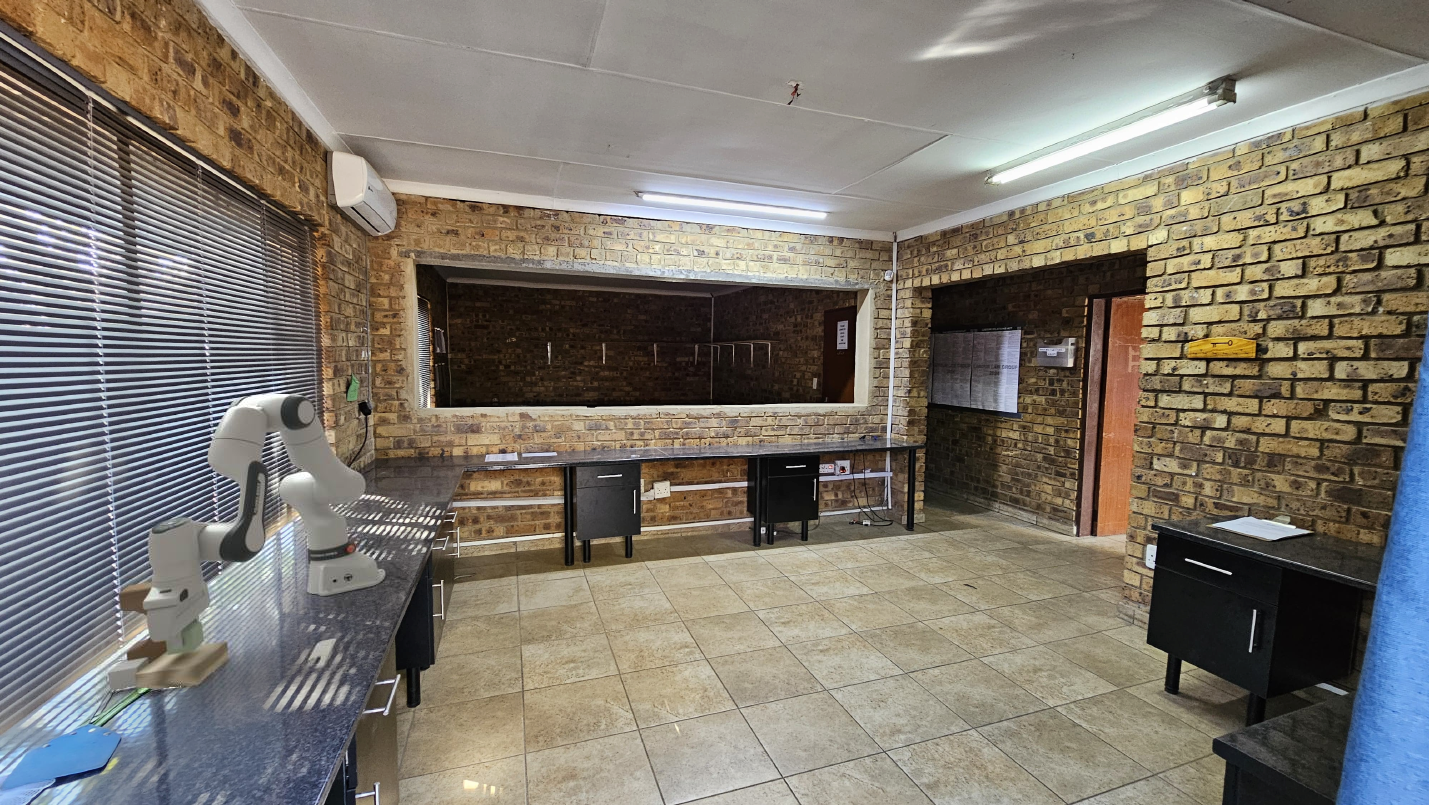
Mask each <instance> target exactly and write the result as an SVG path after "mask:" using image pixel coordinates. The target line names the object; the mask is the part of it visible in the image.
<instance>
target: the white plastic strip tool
mask: <svg viewBox="0 0 1429 805" xmlns="http://www.w3.org/2000/svg"><path fill="white" fill-rule="evenodd" d="M336 641H337V638H329V639H325V640H321V641H319V642H318V643H316V645H315V647H314V648H313V651H312V652H311V654H310V656H309V658H308V660H307V662H309V661H312V660H315V661H316V660H317V659H318V658H320V659H319V662H318V663H317V664H316V665H315V667H314V670H316V669H322V668H324V667H325V664H326V662H327V660H328V658H329V657H330V656H329V655H330V654H331V652H332V650H333V648H334V646H335V644H336Z"/></svg>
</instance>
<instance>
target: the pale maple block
mask: <svg viewBox="0 0 1429 805" xmlns="http://www.w3.org/2000/svg"><path fill="white" fill-rule="evenodd" d="M229 657H230V656H229V647H228V641H221V642H220V641H219V642H213V643H212V642H211V643H206V644H205V643H204V644H203V643H202V644H200V645H199V646H198V647H197V648H196V649H195V650H194V651H189V652H183V653H178V654H172V655H168V653H167V652H165V653H164V654H163V655H161V656H160V657H159V658H157V659H156V660H154V661H153V662H152V663H150V664H149V665H147V666H146V667H145V668H143V669H142V670H141V671H139V672H138V673H136V674H135V678H136V686H137V688H136V691H137V690H138V689H141V688H145V687H146V688H150V689H153V690H157V689H163V688H169V687H180V686H181V687H182V688H184V687H183V686H189V687H194V686H193V685H196V686H199V685H198V684H200V683H201V682H202V681H203V680H204V679H205V678H206V677H207V676H208V675H210V674H211V673H212V672H213V673H214V672H216V671H217V670H218V669H219V668H221V666H223V664H225V663H226V662H227V661H228V660H229V659H230V658H229ZM218 667H219V668H218ZM216 669H217V670H216ZM215 670H216V671H215ZM213 673H212V674H213ZM212 674H211V675H212ZM211 675H210V676H211ZM206 679H207V678H206ZM206 679H205V680H206ZM205 680H204V681H205ZM204 681H203V682H204ZM203 682H202V683H203ZM202 683H201V684H202ZM201 684H200V685H201Z"/></svg>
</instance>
